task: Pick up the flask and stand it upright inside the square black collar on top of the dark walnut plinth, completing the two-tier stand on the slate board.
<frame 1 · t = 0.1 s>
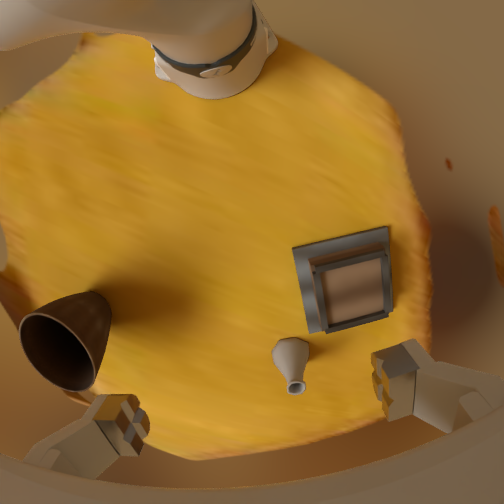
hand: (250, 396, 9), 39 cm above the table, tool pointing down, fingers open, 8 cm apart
flask: (290, 351, 55), on the table
plant pot: (95, 307, 53), on the table
walnut plinth: (346, 281, 50), on the table
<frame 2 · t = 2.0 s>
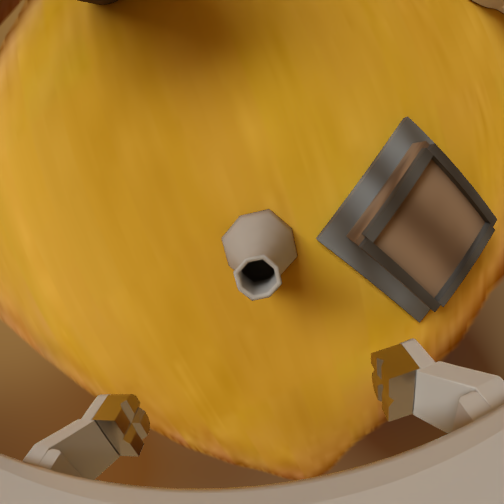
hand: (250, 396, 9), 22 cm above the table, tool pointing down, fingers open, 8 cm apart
flask: (259, 246, 31), on the table
walnut plinth: (416, 223, 29), on the table
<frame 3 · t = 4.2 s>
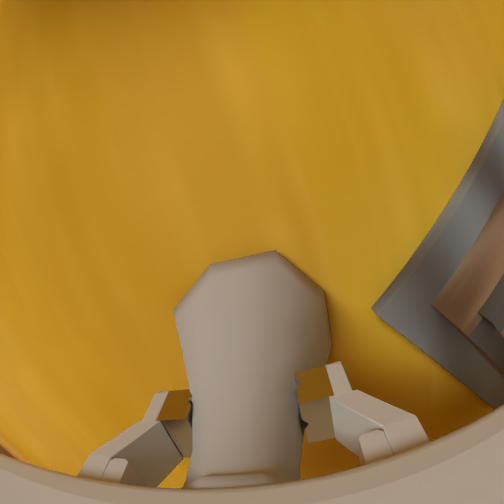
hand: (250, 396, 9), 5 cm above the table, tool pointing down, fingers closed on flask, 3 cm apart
flask: (254, 324, 14), on the table, touching gripper
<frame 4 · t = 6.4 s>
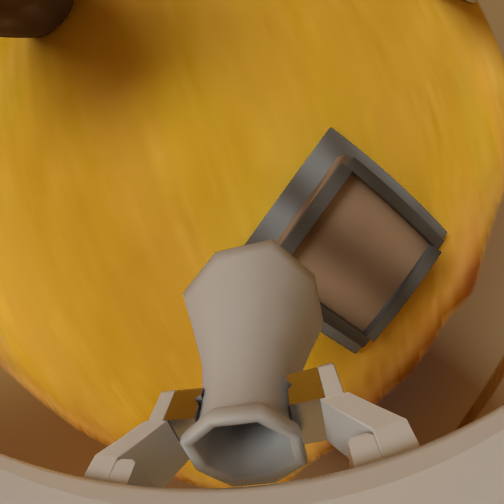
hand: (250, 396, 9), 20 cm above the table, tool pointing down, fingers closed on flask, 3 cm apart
flask: (254, 306, 16), point 13 cm above the table, touching gripper
plant pot: (52, 13, 23), on the table
walnut plinth: (346, 247, 29), on the table
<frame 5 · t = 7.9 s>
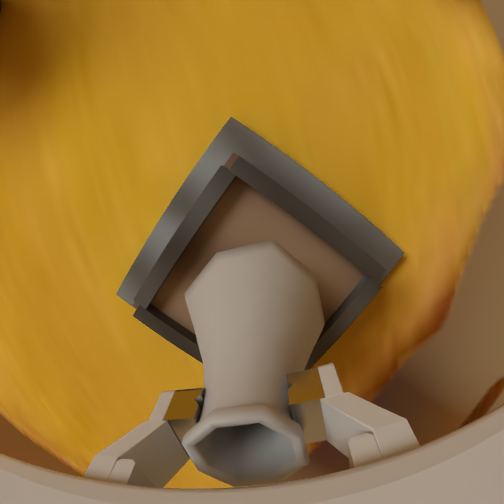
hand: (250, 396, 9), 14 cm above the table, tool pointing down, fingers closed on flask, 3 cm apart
flask: (255, 306, 16), point 7 cm above the table, touching gripper
walnut plinth: (257, 272, 23), on the table
when the fingers open (11 cm above the table, at t = 8.7 s): flask stays where it is, resting on walnut plinth.
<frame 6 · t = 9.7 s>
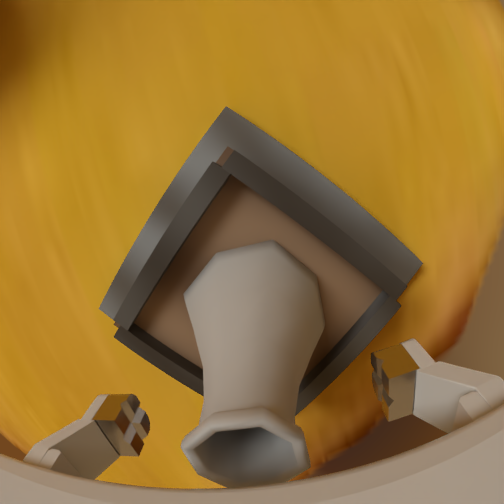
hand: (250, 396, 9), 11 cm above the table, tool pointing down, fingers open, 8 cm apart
flask: (255, 307, 16), point 4 cm above the table, touching walnut plinth
walnut plinth: (256, 285, 20), on the table
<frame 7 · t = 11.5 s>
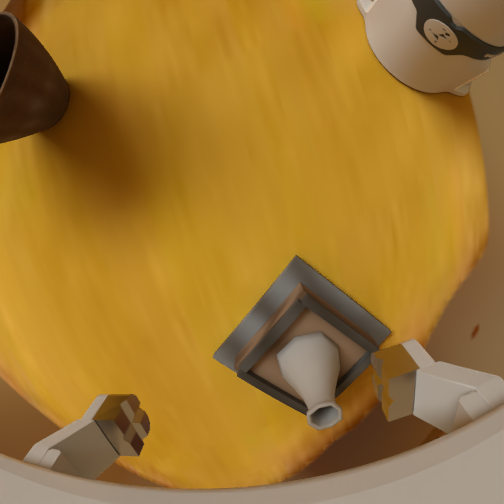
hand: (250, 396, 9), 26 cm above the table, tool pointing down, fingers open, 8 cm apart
flask: (308, 358, 33), point 4 cm above the table, touching walnut plinth
plant pot: (50, 103, 31), on the table
walnut plinth: (304, 343, 37), on the table
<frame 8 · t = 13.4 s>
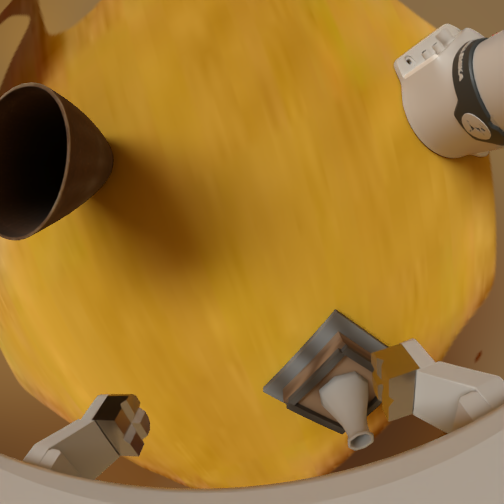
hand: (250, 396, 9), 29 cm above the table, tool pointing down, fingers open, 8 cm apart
flask: (343, 390, 38), point 4 cm above the table, touching walnut plinth
plant pot: (92, 162, 36), on the table
walnut plinth: (338, 376, 42), on the table
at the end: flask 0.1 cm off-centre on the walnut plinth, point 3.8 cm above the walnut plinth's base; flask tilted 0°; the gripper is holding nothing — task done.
